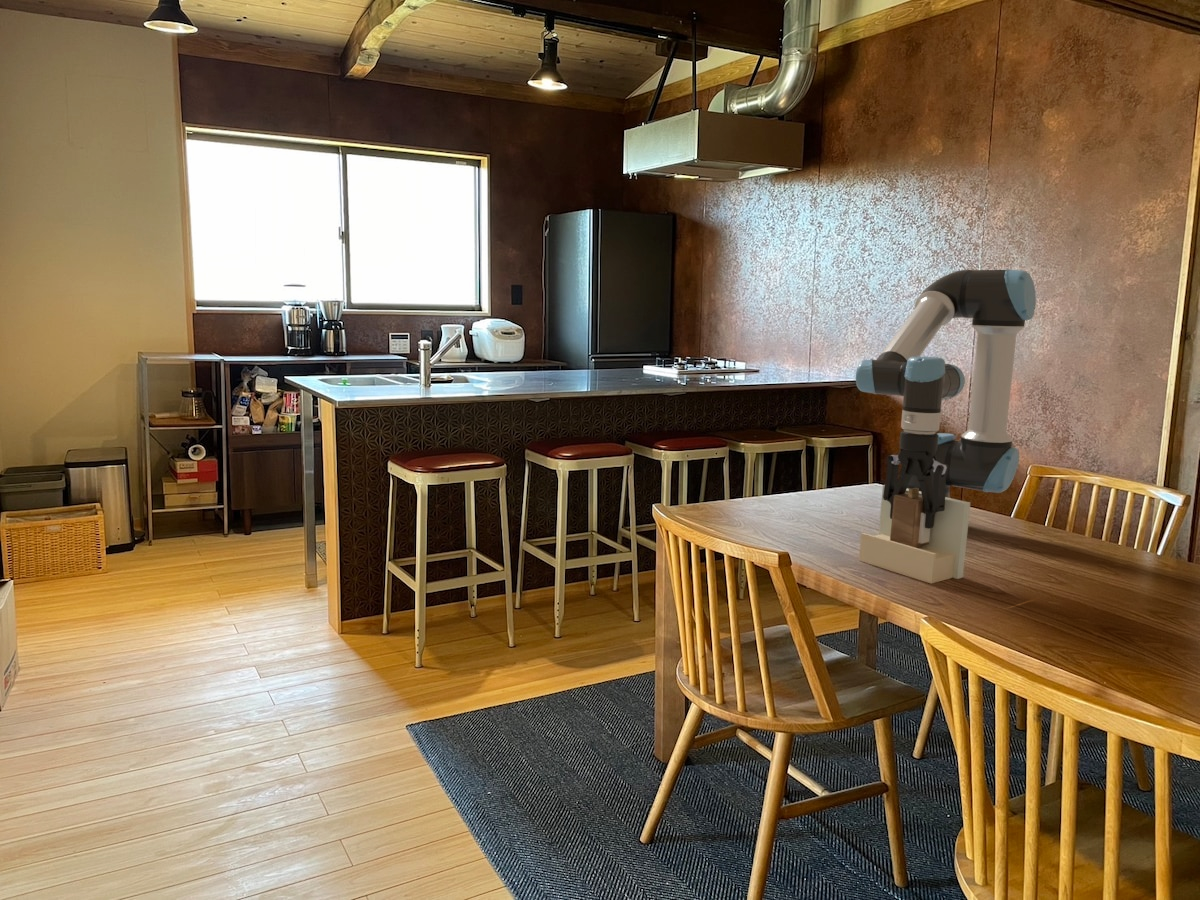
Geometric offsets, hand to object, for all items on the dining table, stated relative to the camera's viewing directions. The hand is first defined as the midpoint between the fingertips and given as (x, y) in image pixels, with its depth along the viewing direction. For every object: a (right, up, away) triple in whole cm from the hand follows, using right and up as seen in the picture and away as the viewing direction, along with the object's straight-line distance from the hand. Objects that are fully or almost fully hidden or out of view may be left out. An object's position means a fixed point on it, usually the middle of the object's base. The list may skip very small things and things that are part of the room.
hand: (909, 538), depth 184 cm
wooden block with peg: (0, -1, 0) cm, 1 cm away
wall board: (0, -7, +1) cm, 7 cm away
